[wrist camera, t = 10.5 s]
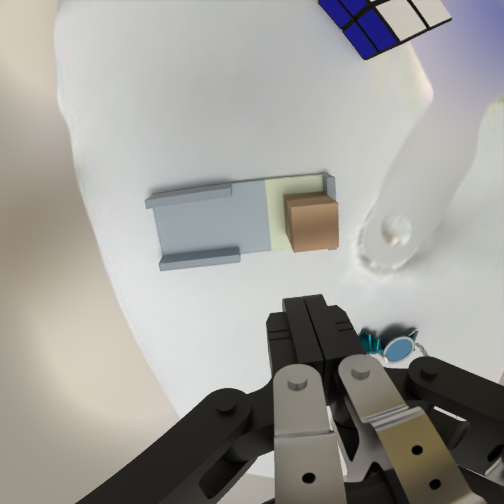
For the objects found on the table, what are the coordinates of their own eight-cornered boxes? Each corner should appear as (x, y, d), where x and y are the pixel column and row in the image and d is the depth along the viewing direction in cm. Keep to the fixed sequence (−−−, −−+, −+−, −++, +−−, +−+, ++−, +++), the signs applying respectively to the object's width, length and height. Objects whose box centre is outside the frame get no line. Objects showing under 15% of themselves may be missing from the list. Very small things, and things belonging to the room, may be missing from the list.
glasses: (322, 376, 50) (349, 471, 32) (313, 339, 47) (345, 443, 28) (415, 342, 49) (466, 420, 30) (415, 303, 45) (480, 383, 27)
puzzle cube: (316, 2, 28) (339, -31, 19) (370, -21, 26) (401, -50, 17) (363, 61, 31) (400, 45, 22) (413, 35, 29) (455, 18, 20)
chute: (152, 194, 37) (144, 200, 34) (327, 173, 37) (336, 178, 33) (166, 259, 40) (160, 271, 37) (330, 240, 40) (337, 250, 37)
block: (283, 195, 36) (291, 207, 31) (323, 191, 36) (337, 202, 31) (286, 234, 38) (294, 252, 33) (324, 229, 38) (338, 247, 33)
